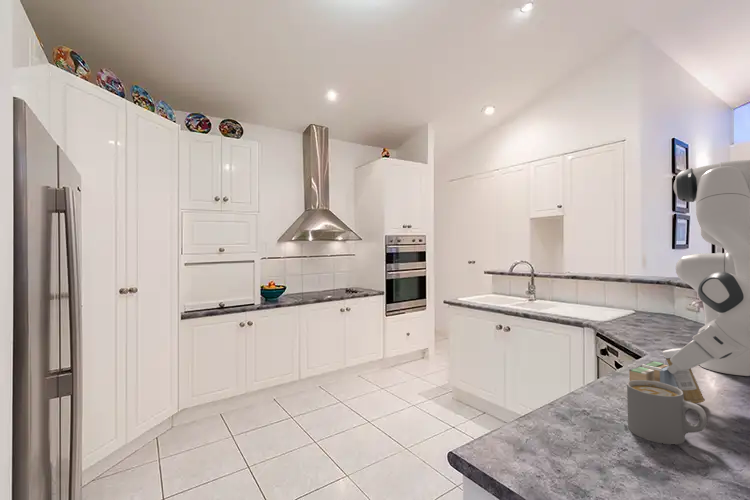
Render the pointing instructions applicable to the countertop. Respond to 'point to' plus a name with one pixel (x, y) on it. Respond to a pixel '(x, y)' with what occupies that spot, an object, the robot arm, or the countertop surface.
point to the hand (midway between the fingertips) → (674, 368)
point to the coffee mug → (660, 412)
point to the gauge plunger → (664, 375)
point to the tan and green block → (646, 372)
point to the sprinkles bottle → (685, 380)
